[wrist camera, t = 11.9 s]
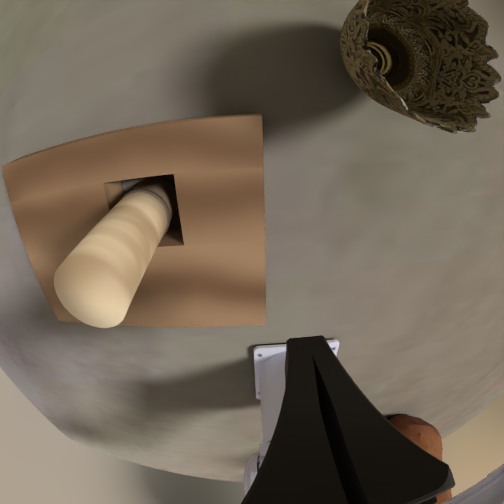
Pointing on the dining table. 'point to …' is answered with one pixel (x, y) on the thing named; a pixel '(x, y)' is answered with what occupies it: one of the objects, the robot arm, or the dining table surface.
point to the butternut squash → (422, 440)
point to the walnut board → (176, 239)
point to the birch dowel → (116, 255)
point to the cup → (422, 59)
